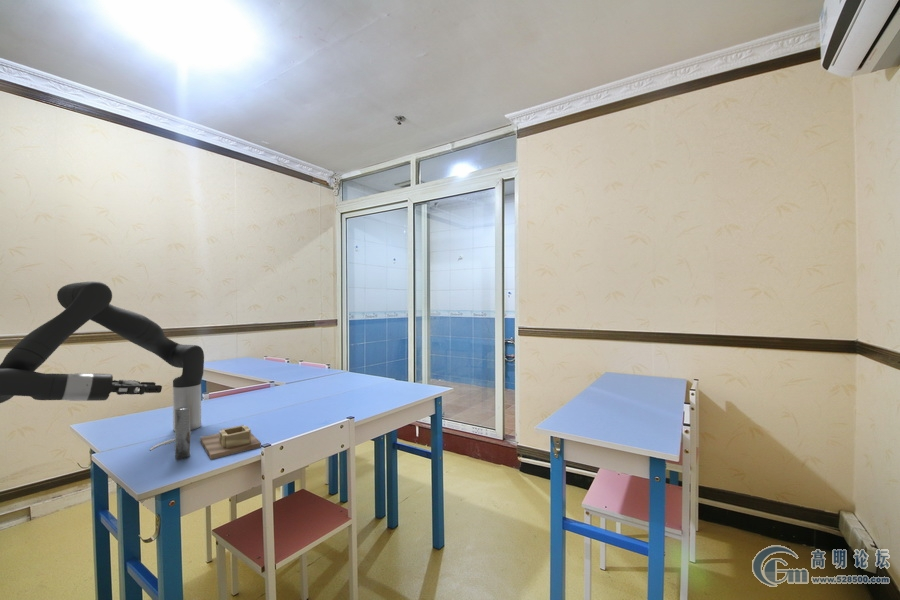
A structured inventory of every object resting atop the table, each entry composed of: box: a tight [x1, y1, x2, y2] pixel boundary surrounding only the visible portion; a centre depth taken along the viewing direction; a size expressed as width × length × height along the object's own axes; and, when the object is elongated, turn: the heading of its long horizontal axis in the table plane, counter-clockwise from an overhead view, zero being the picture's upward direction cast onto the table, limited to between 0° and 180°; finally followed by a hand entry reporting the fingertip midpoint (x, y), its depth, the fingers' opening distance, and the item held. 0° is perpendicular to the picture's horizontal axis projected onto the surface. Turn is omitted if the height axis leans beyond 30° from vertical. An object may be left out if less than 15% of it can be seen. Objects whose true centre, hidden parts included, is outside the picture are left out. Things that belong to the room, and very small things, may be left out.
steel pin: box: [174, 407, 191, 461], centre depth 122 cm, size 4×4×16 cm
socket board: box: [199, 424, 262, 460], centre depth 133 cm, size 20×15×6 cm
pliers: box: [149, 430, 192, 451], centre depth 136 cm, size 10×2×15 cm
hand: (158, 387), depth 117 cm, fingers open, 8 cm apart
